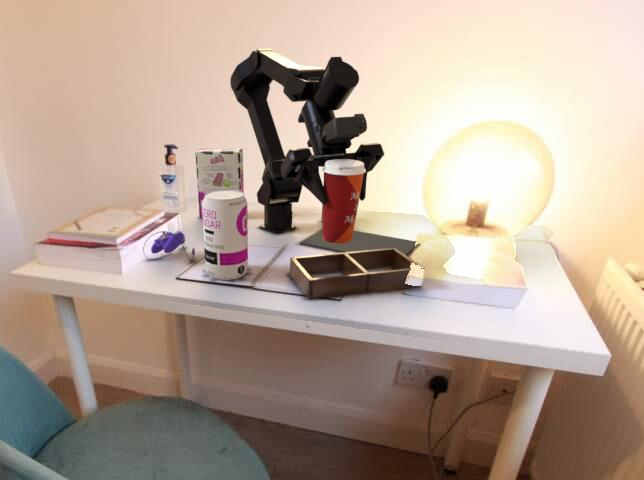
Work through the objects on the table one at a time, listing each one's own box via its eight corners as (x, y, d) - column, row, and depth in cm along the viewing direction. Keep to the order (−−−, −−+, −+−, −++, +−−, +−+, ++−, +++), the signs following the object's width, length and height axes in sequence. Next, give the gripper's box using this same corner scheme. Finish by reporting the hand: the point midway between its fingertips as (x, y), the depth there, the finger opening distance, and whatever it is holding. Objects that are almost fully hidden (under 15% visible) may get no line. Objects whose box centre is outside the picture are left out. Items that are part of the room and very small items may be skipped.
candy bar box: (244, 214, 129) (243, 148, 121) (241, 219, 125) (240, 151, 117) (203, 213, 131) (199, 147, 123) (198, 218, 127) (194, 151, 119)
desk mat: (299, 244, 109) (299, 242, 109) (327, 227, 119) (327, 225, 119) (397, 263, 98) (397, 262, 98) (419, 243, 108) (419, 242, 108)
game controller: (132, 239, 102) (172, 220, 106) (149, 275, 105) (187, 255, 109) (149, 237, 93) (192, 217, 97) (167, 276, 96) (208, 255, 100)
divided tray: (289, 274, 94) (290, 257, 92) (392, 264, 98) (395, 247, 96) (308, 299, 85) (309, 280, 83) (422, 286, 88) (425, 268, 87)
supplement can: (253, 267, 98) (253, 190, 90) (239, 283, 91) (238, 201, 83) (215, 263, 100) (211, 187, 92) (199, 278, 93) (194, 198, 86)
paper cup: (359, 246, 91) (369, 167, 84) (317, 244, 92) (323, 166, 84) (355, 232, 98) (364, 158, 90) (316, 231, 98) (321, 157, 91)
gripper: (289, 99, 83) (312, 180, 80) (386, 94, 88) (412, 171, 84) (271, 141, 94) (291, 215, 90) (359, 135, 98) (381, 205, 95)
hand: (344, 201), depth 90 cm, fingers closed on paper cup, 7 cm apart
